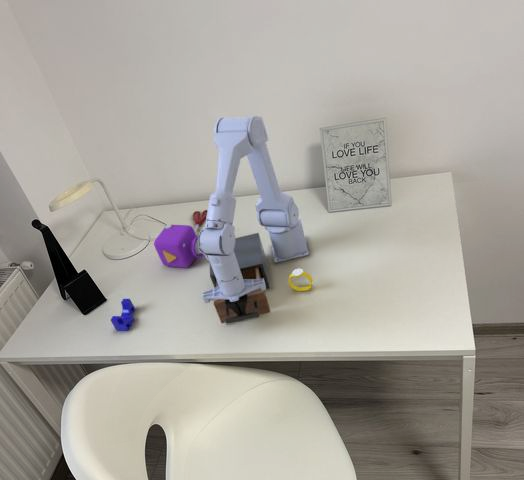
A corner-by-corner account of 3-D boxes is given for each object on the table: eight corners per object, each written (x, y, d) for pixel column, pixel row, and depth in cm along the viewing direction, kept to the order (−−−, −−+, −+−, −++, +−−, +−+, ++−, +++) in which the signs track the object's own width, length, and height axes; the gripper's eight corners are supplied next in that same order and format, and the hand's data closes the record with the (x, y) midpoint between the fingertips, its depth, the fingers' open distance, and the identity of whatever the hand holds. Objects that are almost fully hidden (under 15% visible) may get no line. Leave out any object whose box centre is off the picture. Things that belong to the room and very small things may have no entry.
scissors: (210, 211, 176) (209, 208, 175) (201, 237, 166) (200, 235, 165) (194, 213, 177) (193, 211, 177) (185, 239, 167) (184, 237, 167)
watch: (315, 285, 138) (311, 267, 134) (313, 293, 137) (309, 275, 133) (292, 286, 140) (287, 268, 136) (290, 293, 138) (285, 275, 135)
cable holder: (128, 331, 143) (121, 320, 140) (116, 330, 144) (110, 320, 141) (140, 309, 148) (134, 298, 145) (129, 309, 149) (123, 298, 147)
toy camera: (205, 269, 154) (193, 241, 148) (161, 272, 158) (148, 245, 152) (214, 245, 162) (203, 217, 155) (172, 248, 166) (160, 221, 159)
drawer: (272, 326, 130) (265, 306, 126) (222, 337, 131) (213, 318, 127) (266, 280, 143) (260, 260, 139) (220, 291, 144) (213, 271, 140)
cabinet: (270, 288, 142) (262, 263, 136) (219, 300, 143) (209, 276, 137) (265, 257, 152) (258, 232, 146) (218, 268, 153) (209, 244, 147)
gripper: (196, 292, 120) (214, 334, 129) (260, 277, 119) (274, 321, 127) (197, 272, 125) (213, 314, 134) (258, 257, 124) (271, 301, 133)
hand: (243, 316), depth 131 cm, fingers closed, pressing on drawer
